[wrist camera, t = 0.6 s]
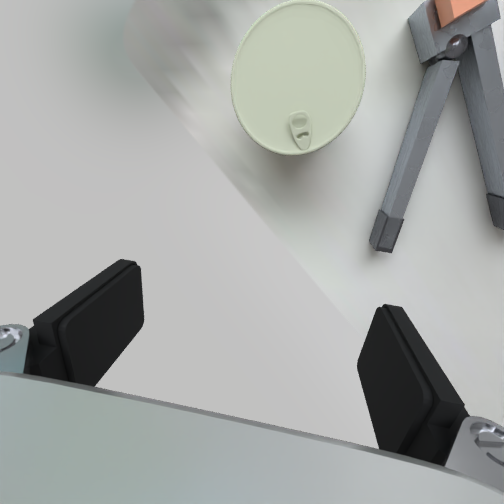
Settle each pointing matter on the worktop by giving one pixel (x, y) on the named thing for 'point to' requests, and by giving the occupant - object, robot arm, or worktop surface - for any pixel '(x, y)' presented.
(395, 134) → the worktop surface
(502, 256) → the worktop surface
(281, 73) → the can
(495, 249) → the worktop surface
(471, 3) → the tab
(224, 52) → the worktop surface
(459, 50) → the tongs fixed
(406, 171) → the bar
